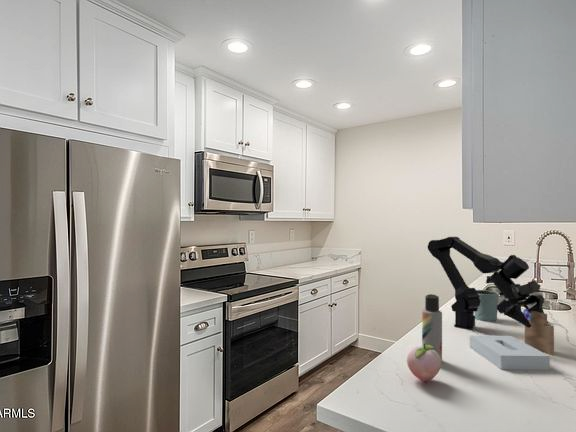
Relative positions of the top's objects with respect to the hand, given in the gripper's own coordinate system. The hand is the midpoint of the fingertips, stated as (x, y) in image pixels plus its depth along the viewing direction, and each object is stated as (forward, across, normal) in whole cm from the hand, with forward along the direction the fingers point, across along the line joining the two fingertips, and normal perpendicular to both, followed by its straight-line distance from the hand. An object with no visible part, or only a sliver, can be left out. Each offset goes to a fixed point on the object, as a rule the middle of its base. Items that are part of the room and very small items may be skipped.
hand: (538, 325), depth 118 cm
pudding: (-10, +34, +22) cm, 42 cm away
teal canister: (-17, +18, +29) cm, 38 cm away
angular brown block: (+6, 0, +6) cm, 8 cm away
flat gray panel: (+6, -16, +6) cm, 18 cm away
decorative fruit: (+7, -53, +5) cm, 54 cm away
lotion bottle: (0, -40, +12) cm, 42 cm away
